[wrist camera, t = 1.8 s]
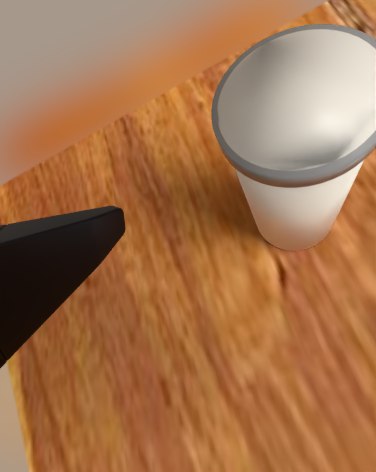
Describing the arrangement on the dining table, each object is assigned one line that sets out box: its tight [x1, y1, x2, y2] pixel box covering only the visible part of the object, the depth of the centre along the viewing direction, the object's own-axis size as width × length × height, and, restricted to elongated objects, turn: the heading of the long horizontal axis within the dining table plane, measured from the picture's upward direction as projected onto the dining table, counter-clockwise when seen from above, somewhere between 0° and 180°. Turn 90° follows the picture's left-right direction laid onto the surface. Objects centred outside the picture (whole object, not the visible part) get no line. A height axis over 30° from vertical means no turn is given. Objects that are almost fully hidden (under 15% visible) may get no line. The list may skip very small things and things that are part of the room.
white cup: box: [212, 24, 376, 251], centre depth 15 cm, size 6×6×12 cm
